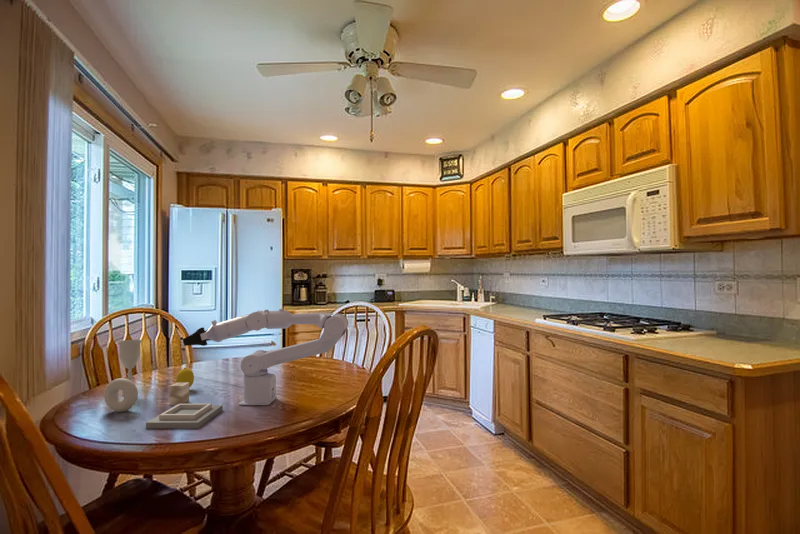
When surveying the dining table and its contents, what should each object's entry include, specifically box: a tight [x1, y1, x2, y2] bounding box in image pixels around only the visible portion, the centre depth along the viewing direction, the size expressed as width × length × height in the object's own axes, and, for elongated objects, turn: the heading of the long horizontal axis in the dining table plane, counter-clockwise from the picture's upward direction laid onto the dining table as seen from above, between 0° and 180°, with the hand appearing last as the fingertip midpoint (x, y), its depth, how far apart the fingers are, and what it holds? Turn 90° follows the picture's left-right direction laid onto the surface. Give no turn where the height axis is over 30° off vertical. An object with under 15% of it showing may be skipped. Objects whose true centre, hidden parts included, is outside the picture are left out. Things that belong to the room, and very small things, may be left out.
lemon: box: [175, 367, 195, 388], centre depth 141 cm, size 6×6×8 cm
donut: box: [103, 377, 139, 413], centre depth 119 cm, size 10×4×10 cm, turn 84°
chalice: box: [117, 339, 143, 397], centre depth 137 cm, size 7×7×18 cm
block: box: [169, 382, 190, 406], centre depth 127 cm, size 4×4×6 cm
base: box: [145, 403, 223, 429], centre depth 113 cm, size 14×14×3 cm
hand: (190, 340), depth 128 cm, fingers open, 7 cm apart
